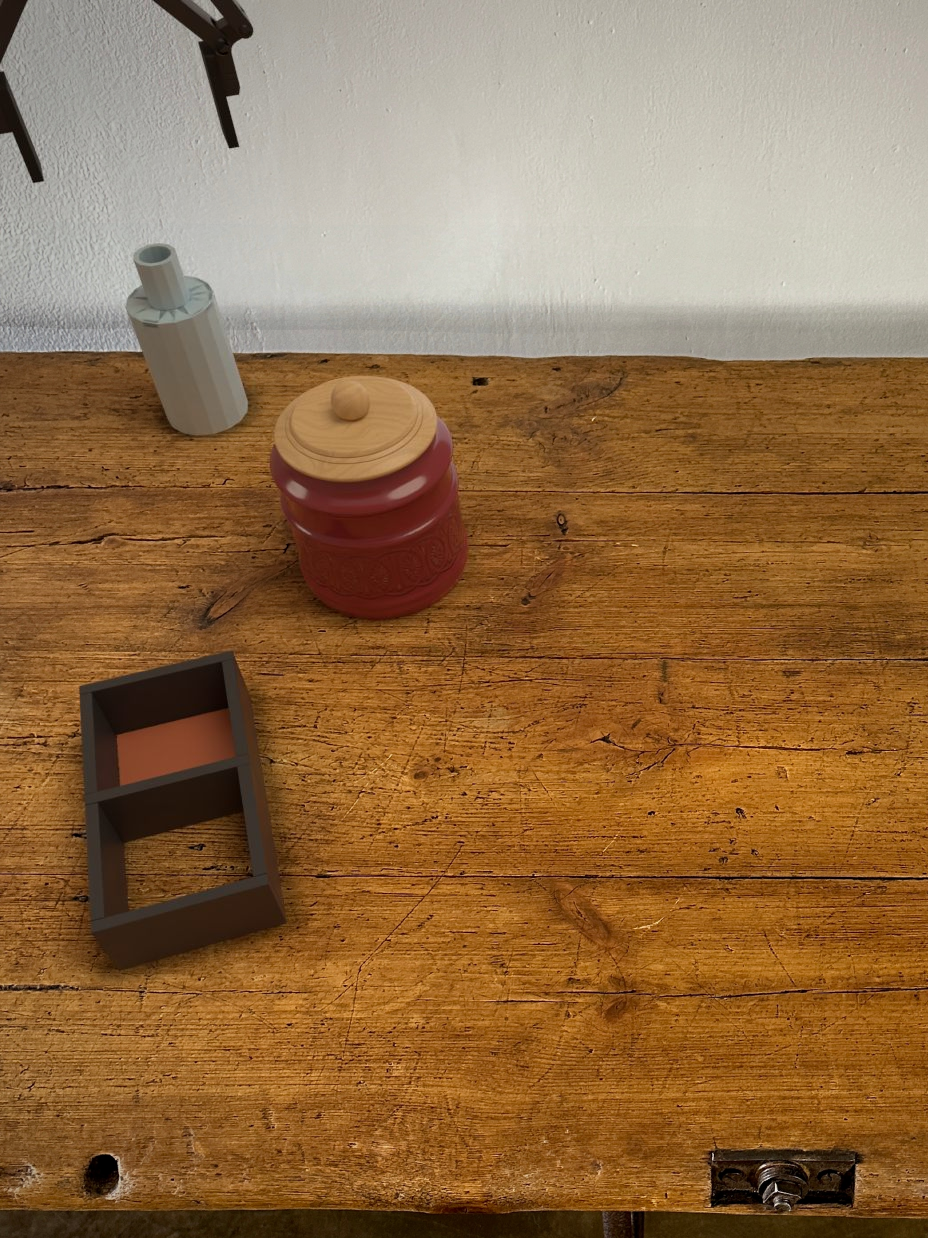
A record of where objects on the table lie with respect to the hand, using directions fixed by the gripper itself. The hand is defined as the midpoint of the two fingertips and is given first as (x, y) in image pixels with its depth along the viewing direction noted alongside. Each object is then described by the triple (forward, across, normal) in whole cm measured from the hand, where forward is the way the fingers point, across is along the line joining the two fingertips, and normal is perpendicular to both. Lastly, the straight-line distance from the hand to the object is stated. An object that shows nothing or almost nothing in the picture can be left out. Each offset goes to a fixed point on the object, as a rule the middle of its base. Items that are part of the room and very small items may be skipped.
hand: (136, 156), depth 88 cm
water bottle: (+24, -1, +2) cm, 25 cm away
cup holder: (+24, -10, -41) cm, 49 cm away
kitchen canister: (+25, +9, -23) cm, 35 cm away
